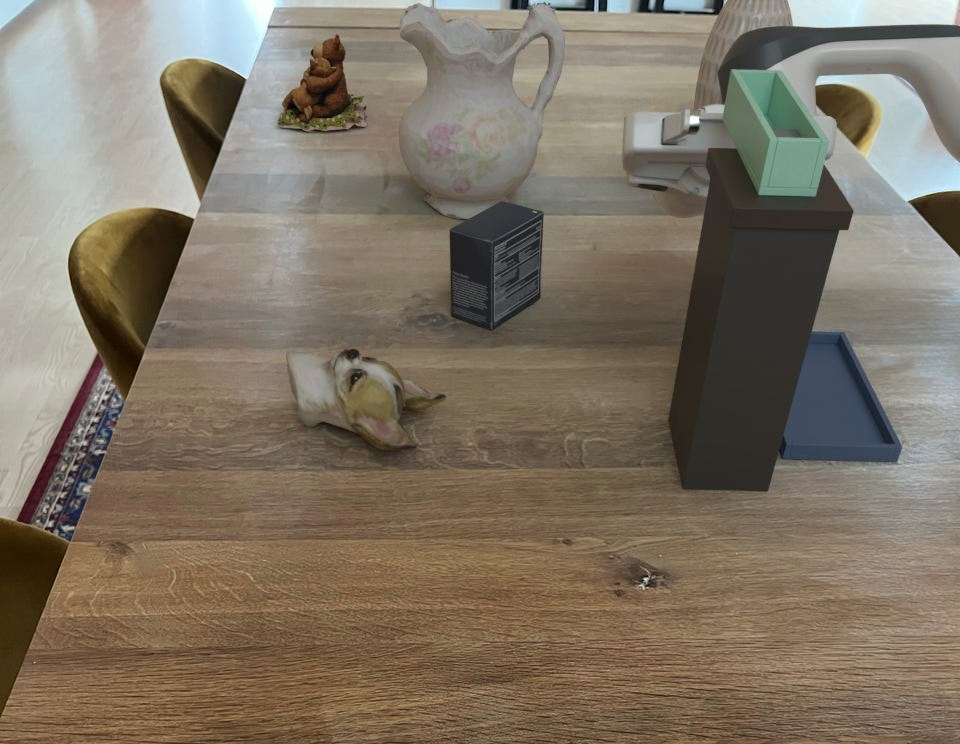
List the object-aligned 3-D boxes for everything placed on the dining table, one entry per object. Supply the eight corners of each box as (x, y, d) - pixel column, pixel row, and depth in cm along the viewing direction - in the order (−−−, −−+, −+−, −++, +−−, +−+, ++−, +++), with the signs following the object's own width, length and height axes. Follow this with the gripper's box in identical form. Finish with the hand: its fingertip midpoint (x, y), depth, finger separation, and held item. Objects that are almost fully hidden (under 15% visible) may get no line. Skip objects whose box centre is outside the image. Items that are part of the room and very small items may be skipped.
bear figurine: (279, 108, 169) (270, 27, 160) (366, 106, 170) (361, 26, 161) (276, 134, 159) (266, 49, 151) (368, 132, 160) (363, 48, 152)
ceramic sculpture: (307, 310, 96) (451, 341, 94) (312, 386, 103) (447, 417, 100) (260, 362, 89) (415, 397, 87) (269, 441, 96) (413, 476, 93)
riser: (750, 419, 100) (815, 150, 82) (774, 494, 91) (854, 210, 72) (662, 416, 100) (708, 147, 82) (678, 492, 91) (733, 207, 73)
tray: (840, 345, 111) (844, 331, 110) (897, 462, 95) (902, 447, 94) (742, 343, 111) (745, 329, 110) (782, 459, 95) (786, 444, 94)
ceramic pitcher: (526, 181, 149) (529, -13, 133) (575, 220, 135) (585, 7, 119) (389, 197, 144) (374, -3, 128) (425, 239, 130) (414, 20, 114)
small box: (498, 284, 121) (501, 197, 114) (542, 298, 119) (547, 211, 111) (447, 315, 115) (446, 226, 108) (492, 331, 112) (494, 241, 105)
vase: (785, 189, 145) (836, -38, 126) (723, 206, 140) (767, -27, 120) (725, 163, 153) (764, -55, 133) (664, 179, 148) (696, -45, 128)
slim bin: (771, 120, 87) (781, 70, 84) (815, 196, 74) (829, 140, 71) (722, 119, 87) (730, 68, 84) (758, 195, 74) (769, 139, 71)
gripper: (808, 190, 102) (856, 161, 88) (612, 186, 102) (630, 155, 88) (814, 124, 100) (865, 83, 87) (615, 119, 100) (635, 78, 87)
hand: (744, 120), depth 87 cm, fingers open, 8 cm apart
